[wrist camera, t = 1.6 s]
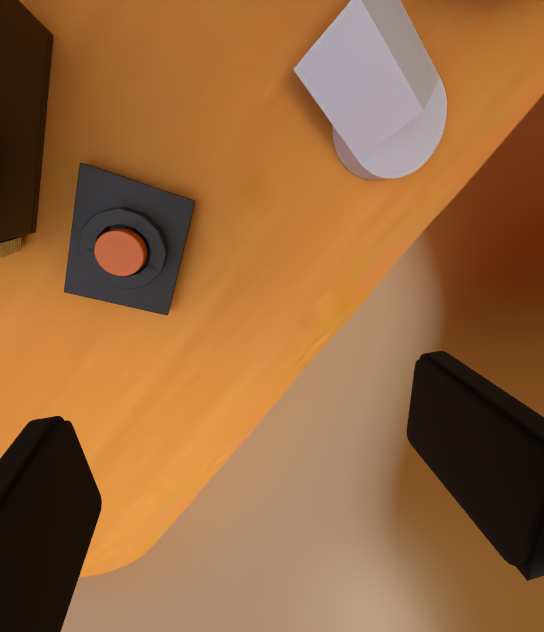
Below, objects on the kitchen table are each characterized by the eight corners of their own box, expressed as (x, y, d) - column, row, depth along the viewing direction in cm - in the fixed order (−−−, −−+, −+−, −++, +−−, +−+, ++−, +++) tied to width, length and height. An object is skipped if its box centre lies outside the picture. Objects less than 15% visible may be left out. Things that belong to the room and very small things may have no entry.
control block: (169, 309, 32) (165, 322, 28) (71, 286, 29) (54, 298, 26) (195, 200, 28) (194, 202, 25) (87, 164, 26) (70, 160, 23)
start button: (143, 276, 27) (139, 281, 25) (97, 264, 26) (90, 269, 24) (151, 235, 26) (147, 238, 24) (104, 221, 25) (97, 224, 23)
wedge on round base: (283, 83, 26) (369, 199, 31) (306, 50, 20) (408, 202, 25) (361, -6, 25) (438, 130, 30) (411, -70, 19) (496, 115, 24)
